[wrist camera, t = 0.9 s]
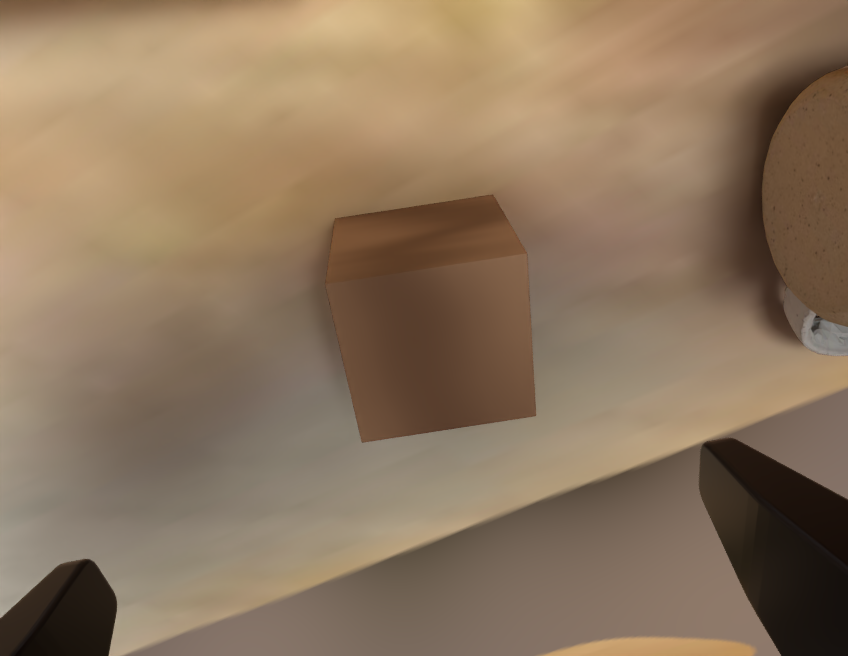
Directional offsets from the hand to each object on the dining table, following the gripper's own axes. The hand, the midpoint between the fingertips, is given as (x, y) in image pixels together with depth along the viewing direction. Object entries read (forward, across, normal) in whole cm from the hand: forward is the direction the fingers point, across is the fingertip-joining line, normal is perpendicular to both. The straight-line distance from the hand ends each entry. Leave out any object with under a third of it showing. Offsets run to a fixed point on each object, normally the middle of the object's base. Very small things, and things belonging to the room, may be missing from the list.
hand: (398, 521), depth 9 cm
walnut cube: (+12, -1, +2) cm, 13 cm away
